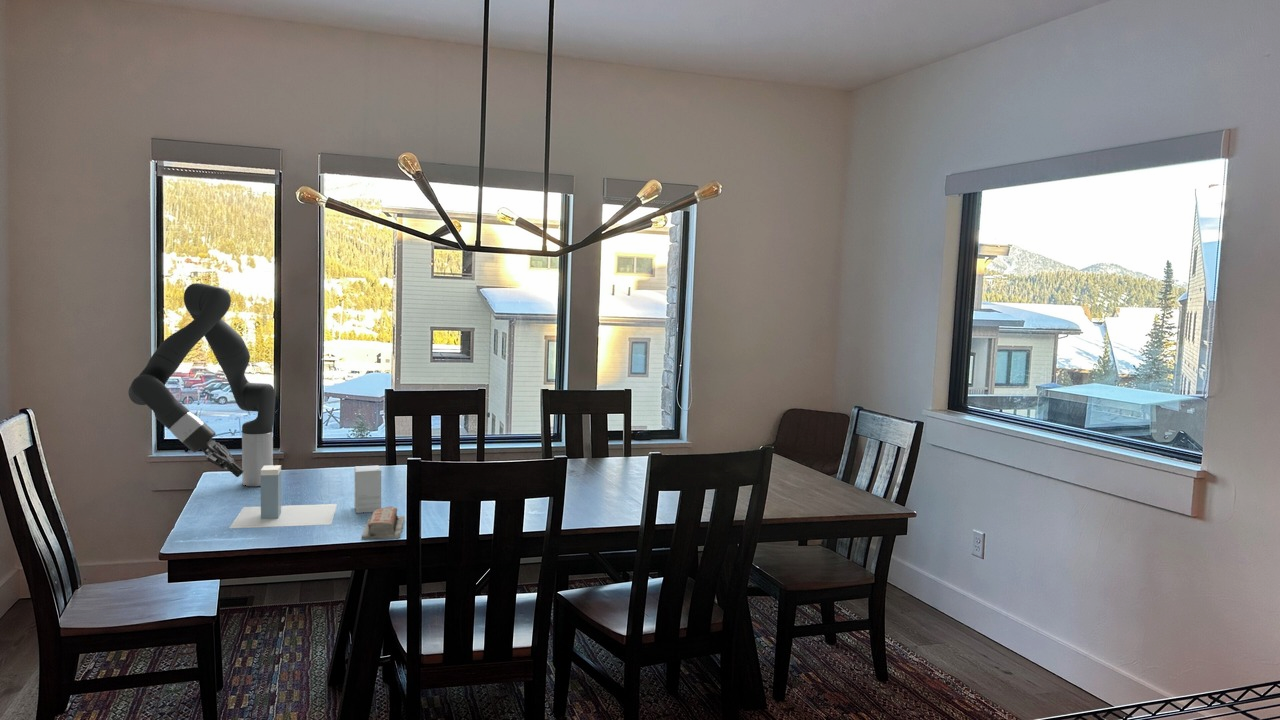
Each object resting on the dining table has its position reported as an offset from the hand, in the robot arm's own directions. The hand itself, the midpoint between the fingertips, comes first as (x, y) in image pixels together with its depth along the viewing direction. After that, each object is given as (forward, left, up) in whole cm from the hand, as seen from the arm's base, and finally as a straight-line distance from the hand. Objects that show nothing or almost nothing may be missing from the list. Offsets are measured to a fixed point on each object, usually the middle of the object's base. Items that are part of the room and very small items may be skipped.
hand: (240, 474), depth 237 cm
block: (0, +8, -12) cm, 15 cm away
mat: (0, +12, -13) cm, 17 cm away
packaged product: (+16, +39, -13) cm, 44 cm away
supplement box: (-5, +34, -13) cm, 37 cm away
